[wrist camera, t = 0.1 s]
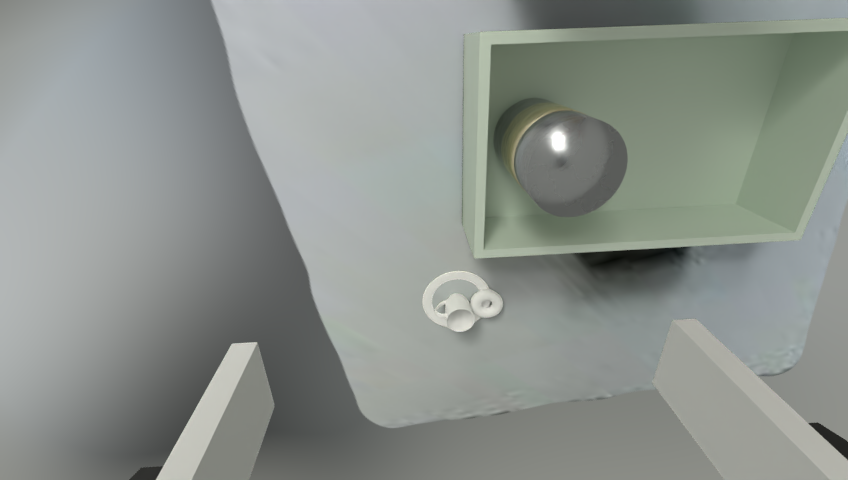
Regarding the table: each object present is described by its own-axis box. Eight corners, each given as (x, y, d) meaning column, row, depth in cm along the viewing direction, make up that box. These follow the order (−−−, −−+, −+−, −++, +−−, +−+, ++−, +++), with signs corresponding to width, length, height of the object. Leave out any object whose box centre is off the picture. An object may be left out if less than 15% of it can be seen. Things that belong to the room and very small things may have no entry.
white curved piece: (508, 288, 46) (518, 309, 42) (472, 336, 49) (477, 360, 45) (444, 257, 44) (448, 277, 40) (410, 309, 47) (410, 332, 43)
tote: (463, 34, 33) (479, 32, 27) (800, 21, 34) (898, 16, 28) (461, 223, 41) (474, 258, 35) (736, 208, 42) (800, 240, 36)
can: (494, 98, 35) (530, 120, 26) (572, 95, 36) (637, 115, 26) (491, 175, 39) (522, 220, 29) (562, 171, 39) (617, 215, 29)
